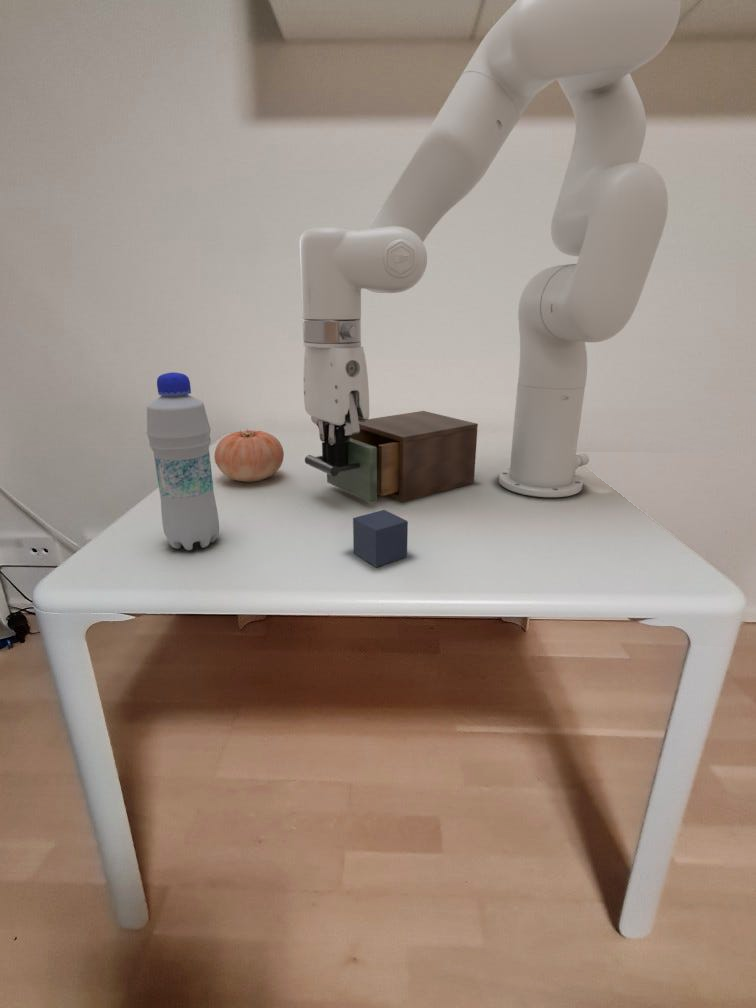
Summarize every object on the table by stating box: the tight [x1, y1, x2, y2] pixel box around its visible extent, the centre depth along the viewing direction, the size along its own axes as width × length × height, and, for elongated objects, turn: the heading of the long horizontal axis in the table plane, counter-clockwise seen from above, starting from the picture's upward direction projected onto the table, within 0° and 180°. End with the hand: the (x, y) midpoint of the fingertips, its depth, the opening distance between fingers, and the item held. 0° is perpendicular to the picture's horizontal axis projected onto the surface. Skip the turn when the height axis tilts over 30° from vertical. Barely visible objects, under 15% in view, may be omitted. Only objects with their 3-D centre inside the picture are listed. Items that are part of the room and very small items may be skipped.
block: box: [352, 509, 409, 568], centre depth 61 cm, size 4×4×4 cm
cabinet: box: [359, 410, 479, 503], centre depth 85 cm, size 15×13×10 cm
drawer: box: [304, 429, 400, 504], centre depth 80 cm, size 18×11×8 cm, turn 127°
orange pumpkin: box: [213, 429, 285, 483], centre depth 87 cm, size 11×11×8 cm
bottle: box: [146, 371, 220, 551], centre depth 62 cm, size 7×7×20 cm
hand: (335, 469), depth 77 cm, fingers closed
